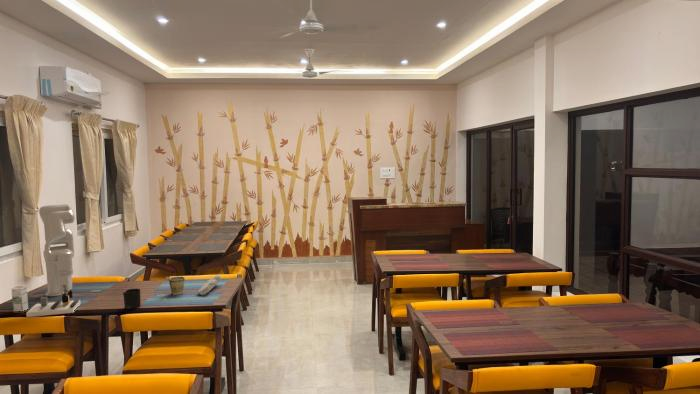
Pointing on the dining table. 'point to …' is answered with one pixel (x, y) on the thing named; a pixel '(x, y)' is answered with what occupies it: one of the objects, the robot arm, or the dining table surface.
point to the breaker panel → (46, 309)
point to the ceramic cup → (177, 285)
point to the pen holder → (132, 298)
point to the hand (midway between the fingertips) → (67, 300)
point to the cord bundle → (60, 301)
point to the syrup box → (19, 298)
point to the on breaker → (44, 301)
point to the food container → (209, 285)
